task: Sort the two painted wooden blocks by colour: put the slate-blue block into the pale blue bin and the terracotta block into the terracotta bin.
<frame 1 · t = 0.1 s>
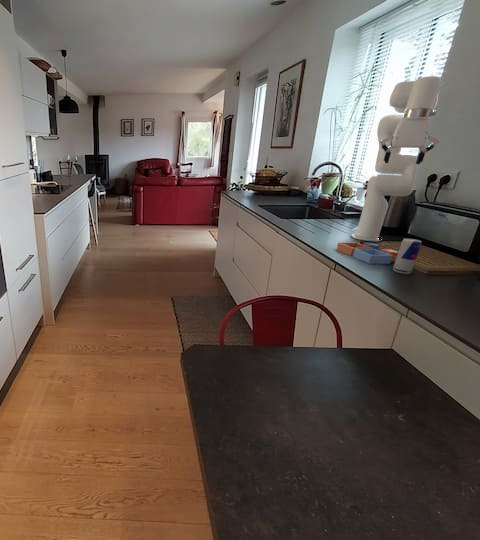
hand: (401, 163, 126), 37 cm above the table, tool pointing down, fingers open, 9 cm apart
energy drink: (401, 272, 119), on the table
blue block: (368, 252, 142), on the table
terracotta bin: (352, 252, 141), on the table
terracotta block: (387, 260, 132), on the table
blue bin: (370, 260, 132), on the table
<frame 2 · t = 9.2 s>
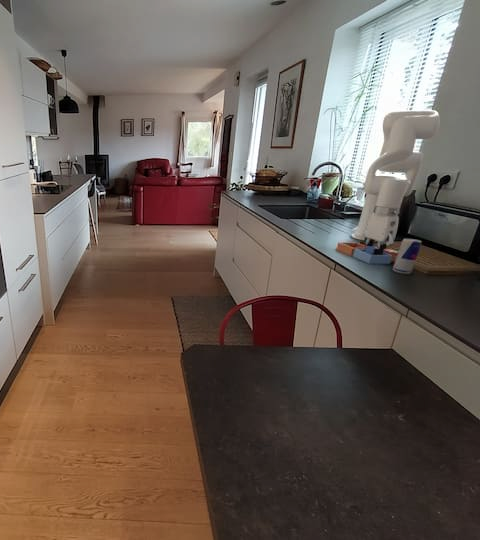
hand: (372, 255, 131), 2 cm above the table, tool pointing down, fingers closed on blue block, 4 cm apart
blue block: (371, 256, 131), point 1 cm above the table, touching gripper
everything else where it was.
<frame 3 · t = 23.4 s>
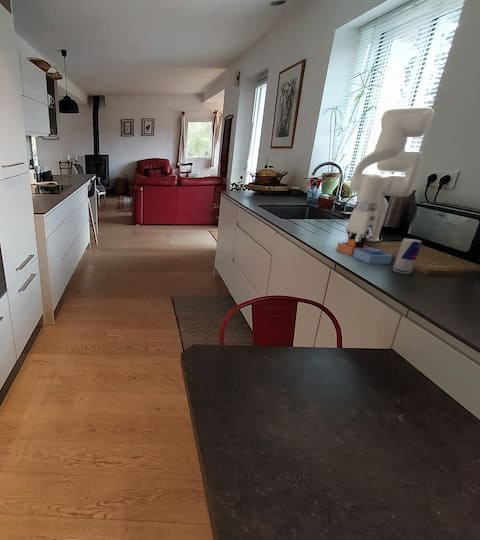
hand: (354, 248, 141), 2 cm above the table, tool pointing down, fingers closed on terracotta block, 4 cm apart
blue block: (371, 259, 132), resting on blue bin
terracotta block: (353, 249, 141), point 1 cm above the table, touching gripper
everything else where it was.
when the fingers open (3 cm above the table, at t = 28.7 s): terracotta block stays where it is, resting on terracotta bin.
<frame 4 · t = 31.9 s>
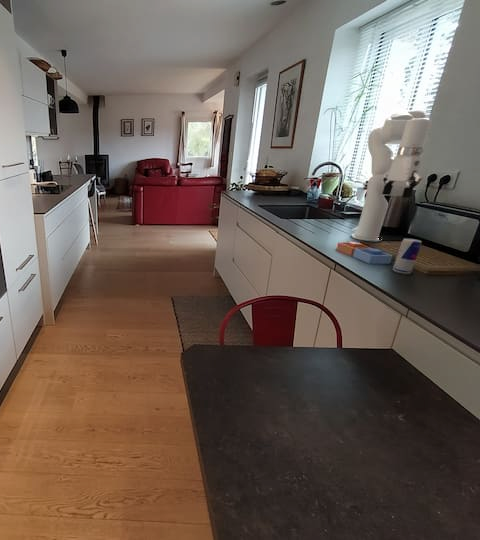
hand: (395, 195, 136), 24 cm above the table, tool pointing down, fingers open, 9 cm apart
terracotta block: (353, 251, 141), resting on terracotta bin
everything else where it was.
at the end: blue block 0.0 cm off-centre in the blue bin, point 0.4 cm above the blue bin's base; terracotta block 0.0 cm off-centre in the terracotta bin, point 0.4 cm above the terracotta bin's base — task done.
